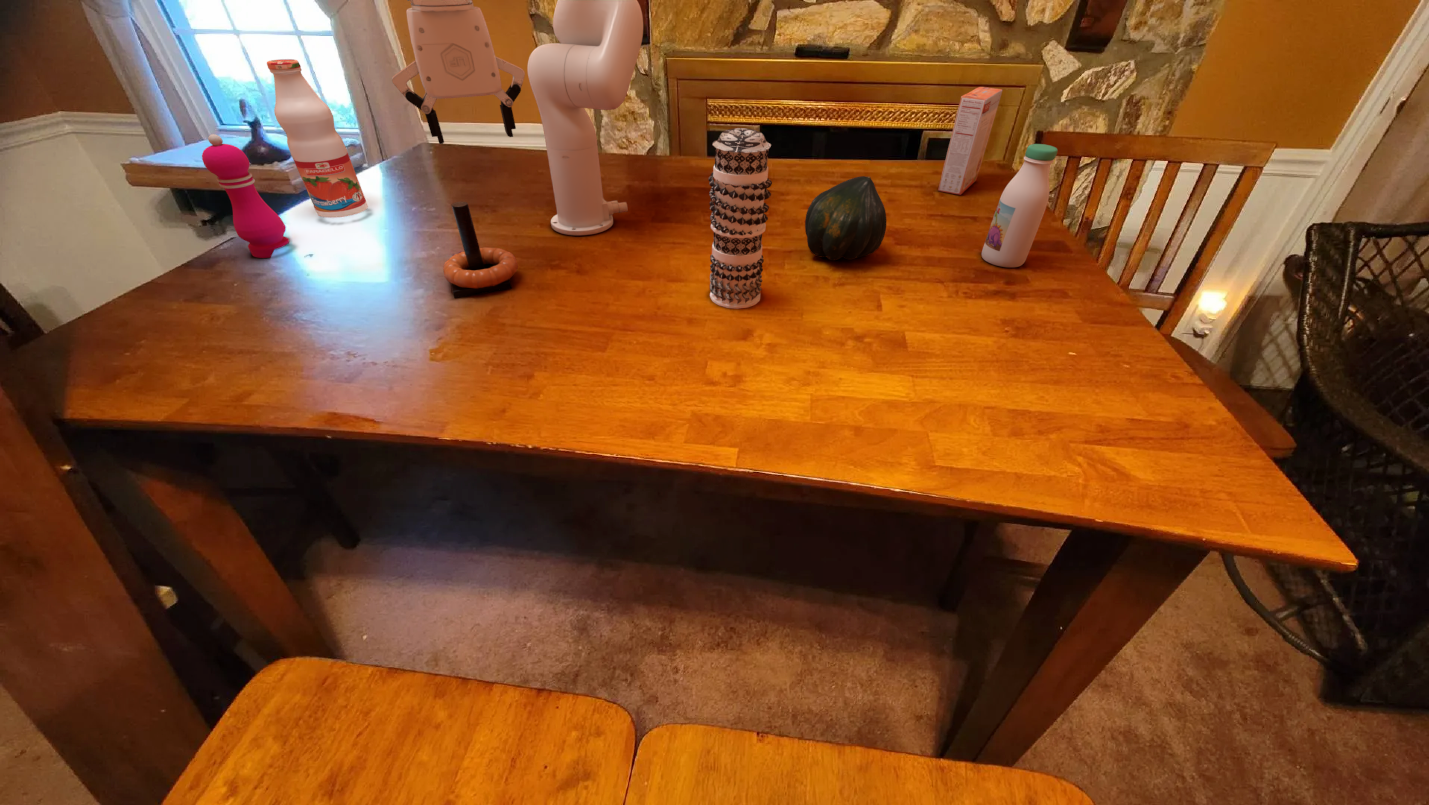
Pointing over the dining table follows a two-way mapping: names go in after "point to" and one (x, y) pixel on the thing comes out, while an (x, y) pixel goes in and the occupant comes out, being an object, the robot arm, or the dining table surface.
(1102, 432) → the dining table surface
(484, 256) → the ring
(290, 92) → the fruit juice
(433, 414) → the dining table surface
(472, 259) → the stand
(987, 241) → the milk bottle
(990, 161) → the dining table surface
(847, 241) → the squash
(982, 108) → the cracker box
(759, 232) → the decorative candle
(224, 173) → the pepper mill
